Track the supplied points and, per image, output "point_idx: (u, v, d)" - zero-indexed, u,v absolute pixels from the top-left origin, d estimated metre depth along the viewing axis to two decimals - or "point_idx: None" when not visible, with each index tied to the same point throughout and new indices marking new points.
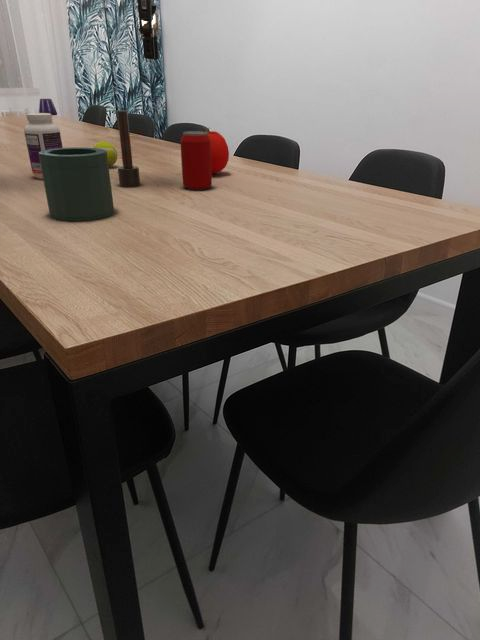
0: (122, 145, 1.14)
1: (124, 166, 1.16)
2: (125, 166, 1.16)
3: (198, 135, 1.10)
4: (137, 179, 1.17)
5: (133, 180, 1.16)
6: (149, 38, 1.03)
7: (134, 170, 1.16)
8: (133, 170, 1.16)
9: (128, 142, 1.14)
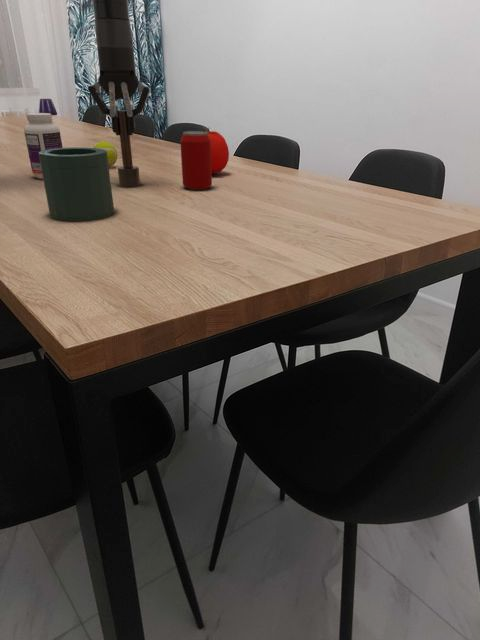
0: (122, 145, 1.14)
1: (124, 166, 1.16)
2: (125, 166, 1.16)
3: (198, 135, 1.10)
4: (137, 179, 1.17)
5: (133, 180, 1.16)
6: None
7: (134, 170, 1.16)
8: (133, 170, 1.16)
9: (128, 142, 1.14)
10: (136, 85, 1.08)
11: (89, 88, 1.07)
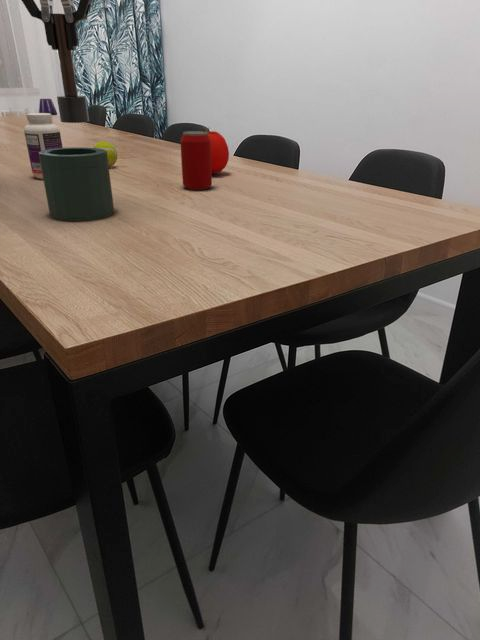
0: (61, 64, 0.84)
1: (66, 94, 0.86)
2: (67, 94, 0.86)
3: (198, 135, 1.10)
4: (84, 112, 0.88)
5: (78, 113, 0.87)
6: None
7: (79, 99, 0.86)
8: (77, 99, 0.86)
9: (69, 60, 0.84)
10: None
11: None
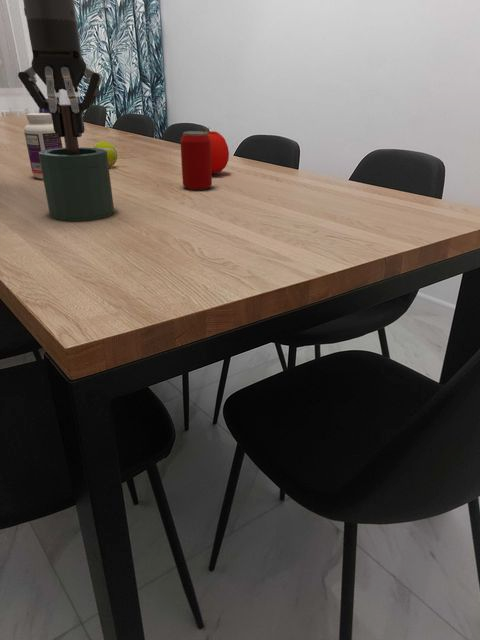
0: (68, 150, 0.88)
1: None
2: None
3: (198, 135, 1.10)
4: None
5: None
6: None
7: None
8: None
9: (75, 146, 0.88)
10: (82, 71, 0.82)
11: (20, 75, 0.81)
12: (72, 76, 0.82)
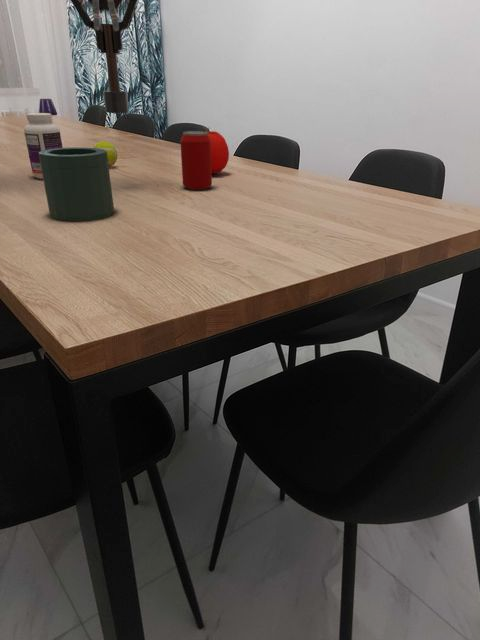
0: (108, 64, 1.03)
1: (110, 89, 1.05)
2: (111, 89, 1.05)
3: (198, 135, 1.10)
4: (125, 104, 1.07)
5: (120, 105, 1.06)
6: None
7: (121, 93, 1.05)
8: (120, 93, 1.05)
9: (114, 61, 1.03)
10: None
11: None
12: None
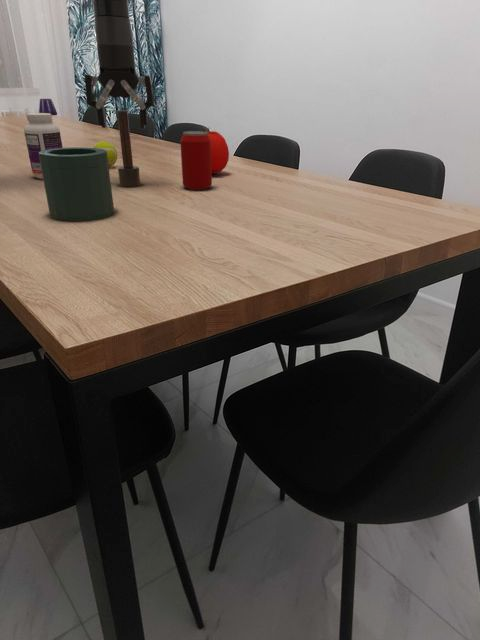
0: (122, 145, 1.14)
1: (124, 166, 1.16)
2: (125, 166, 1.16)
3: (198, 135, 1.10)
4: (137, 179, 1.17)
5: (133, 180, 1.16)
6: None
7: (134, 170, 1.16)
8: (133, 170, 1.16)
9: (128, 142, 1.14)
10: (136, 83, 1.08)
11: (86, 76, 1.06)
12: (129, 84, 1.08)
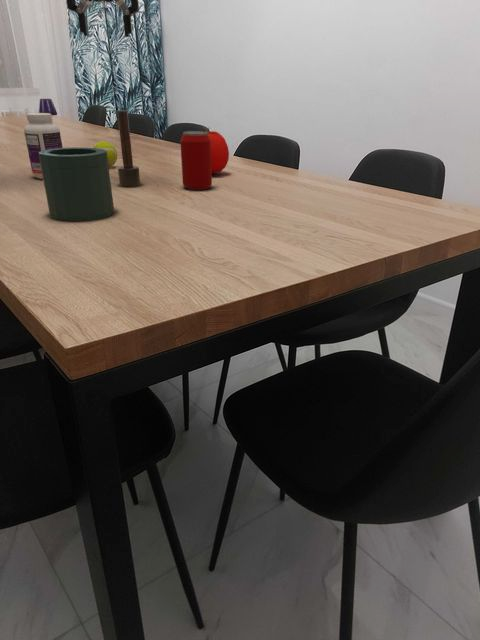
0: (122, 145, 1.14)
1: (124, 166, 1.16)
2: (125, 166, 1.16)
3: (198, 135, 1.10)
4: (137, 179, 1.17)
5: (133, 180, 1.16)
6: None
7: (134, 170, 1.16)
8: (133, 170, 1.16)
9: (128, 142, 1.14)
10: None
11: None
12: None
